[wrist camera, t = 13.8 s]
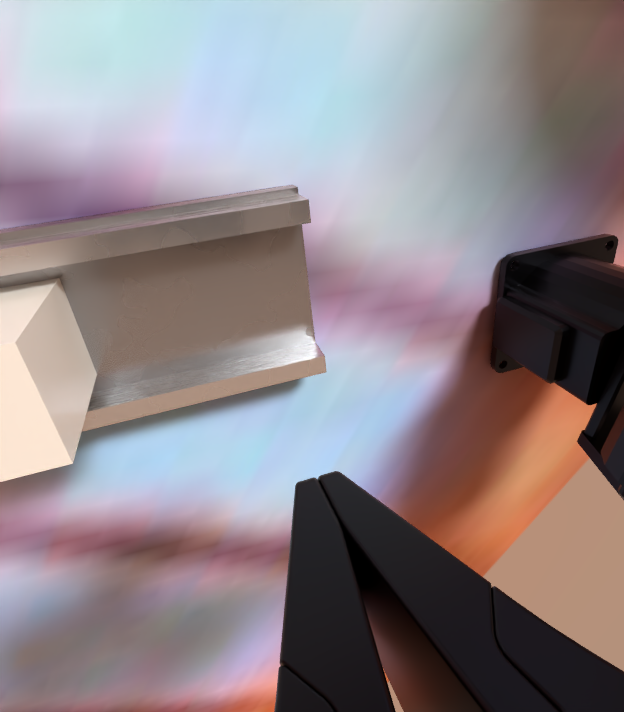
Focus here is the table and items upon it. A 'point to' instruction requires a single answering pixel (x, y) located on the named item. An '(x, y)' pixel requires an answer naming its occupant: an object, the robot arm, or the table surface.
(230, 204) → the rail
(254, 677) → the table surface
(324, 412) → the table surface
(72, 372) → the block
